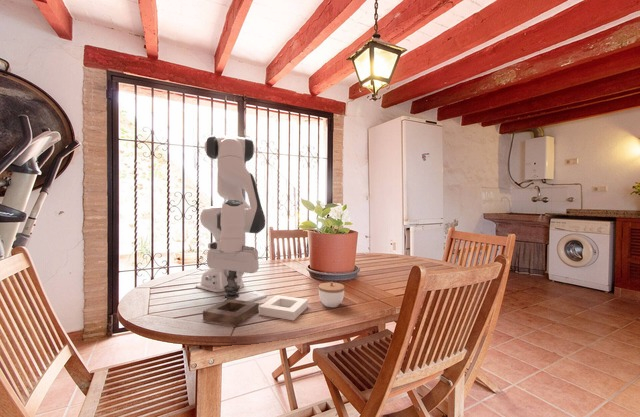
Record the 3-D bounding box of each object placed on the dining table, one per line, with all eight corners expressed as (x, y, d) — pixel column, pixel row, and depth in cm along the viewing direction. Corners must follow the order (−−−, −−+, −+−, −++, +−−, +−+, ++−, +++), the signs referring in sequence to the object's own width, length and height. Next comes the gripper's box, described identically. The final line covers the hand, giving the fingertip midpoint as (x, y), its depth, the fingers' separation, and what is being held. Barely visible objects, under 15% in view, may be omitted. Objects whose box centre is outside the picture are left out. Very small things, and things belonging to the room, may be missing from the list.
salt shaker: (243, 296, 107) (244, 264, 106) (228, 300, 102) (229, 266, 102) (234, 292, 111) (235, 261, 110) (220, 296, 106) (221, 264, 106)
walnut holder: (202, 319, 102) (203, 310, 102) (227, 305, 115) (227, 298, 115) (236, 325, 97) (237, 316, 97) (258, 310, 111) (258, 303, 111)
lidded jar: (347, 302, 122) (348, 280, 122) (339, 311, 112) (340, 287, 112) (323, 298, 126) (324, 277, 126) (314, 306, 116) (314, 283, 116)
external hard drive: (230, 301, 122) (254, 294, 132) (242, 305, 117) (266, 298, 127) (230, 297, 122) (254, 290, 132) (242, 301, 117) (266, 294, 127)
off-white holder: (259, 314, 107) (259, 306, 107) (276, 302, 121) (276, 295, 120) (293, 320, 103) (293, 312, 103) (307, 306, 116) (308, 299, 116)
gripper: (262, 245, 105) (261, 283, 106) (215, 241, 112) (215, 276, 113) (253, 248, 99) (252, 288, 100) (204, 243, 106) (203, 280, 107)
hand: (232, 282), depth 106 cm, fingers closed on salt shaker, 3 cm apart
